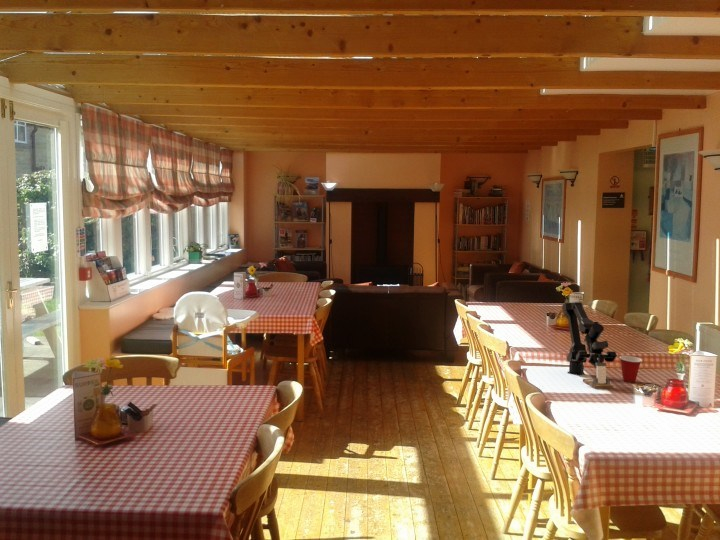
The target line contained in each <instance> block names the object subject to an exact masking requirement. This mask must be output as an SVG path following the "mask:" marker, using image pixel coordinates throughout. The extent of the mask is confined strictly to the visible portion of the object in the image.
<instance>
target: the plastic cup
mask: <svg viewBox="0 0 720 540" xmlns="http://www.w3.org/2000/svg"><path fill="white" fill-rule="evenodd" d="M618 358H619V360H620V367H621V374H622V381H623V380H624V381H623V382H625V381H626V383H636V381H637V376H638V373H639V369H640V366H641V363H642V362H643V359H642V358H640V357H636V356H630V355H620V356H619V357H618Z"/></svg>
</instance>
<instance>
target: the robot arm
mask: <svg viewBox="0 0 720 540" xmlns="http://www.w3.org/2000/svg"><path fill="white" fill-rule="evenodd" d="M561 308H562V309H561V311H562V312H563V315H564V316H565V318H566V319H567V322H568V329H569V333H570V342H571V345H570V347H569V352H568V354H567V356H566V361H567V362H568V363H569V368H568V371H567V374H571V373H572V374H573V375H576V374H577V376H578V375H583V374H582V373H584V374H585V372H584V370H585V369H584V368H585V366H584V363H586V362H588V363H589V364H591V365H592V366H594V368H595V369H596V363H604V361H605V362H606V363H613V362H615V360H616V357H617V356H618V355H617V352H616V351H614V350H613V351H611V350H608V351H606V353H604V349H606V348H607V349H608V347H609V343H608V340H602V341H599V340H598V339H599V338H600V337H601V335H602V333H603V332H604V331H605V326H604V325H602V324H601V323H599V322H598V321H594V320H592V319H590V318H589V316H588V315H587V313H586V311H585V309H584V305H583V303H582V302H580V301H573V302H567V301H566V302H564V303H563V304H562V306H561ZM581 334H582V335H585V336H584V340H583V341H584V342H585V343H584V344H583V343H582V338H581ZM586 347H587V348H586ZM587 359H588V361H587Z"/></svg>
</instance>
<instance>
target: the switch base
mask: <svg viewBox="0 0 720 540" xmlns="http://www.w3.org/2000/svg"><path fill="white" fill-rule="evenodd" d="M582 383H584V384H586V385H587V386H589V387H591V388H592V389H595V390H598V389H599V390H614V385H612V384H611V379H610V378H608V377H606V383H598V379H597V377H593V378H582Z"/></svg>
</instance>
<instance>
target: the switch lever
mask: <svg viewBox="0 0 720 540" xmlns="http://www.w3.org/2000/svg"><path fill="white" fill-rule="evenodd" d="M607 367H608V366H607V362H603V363H596V368H595V369H596V370H595V372H596V373H595V374H596V378H597V379H598V383H606V378H607Z"/></svg>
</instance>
